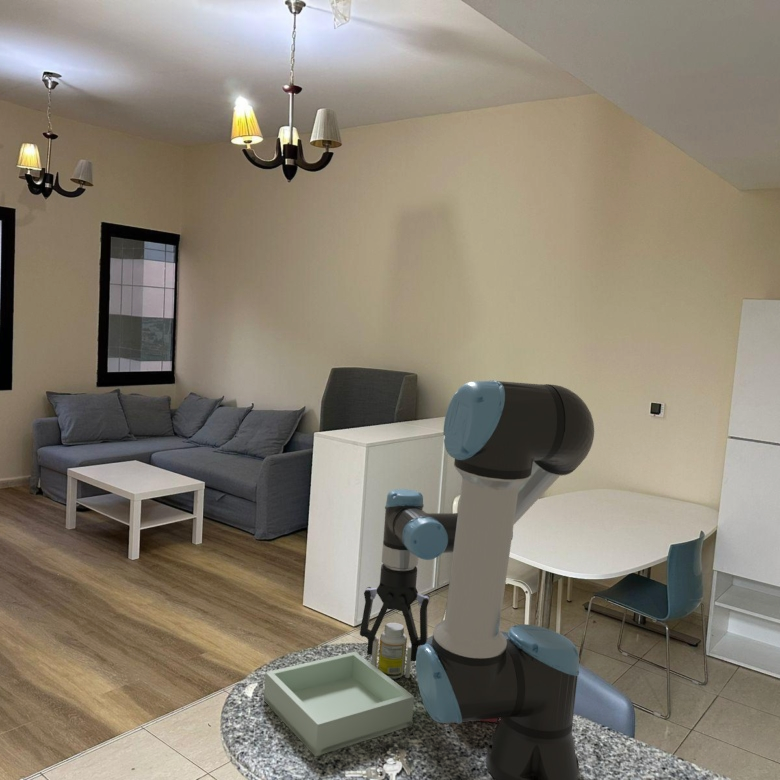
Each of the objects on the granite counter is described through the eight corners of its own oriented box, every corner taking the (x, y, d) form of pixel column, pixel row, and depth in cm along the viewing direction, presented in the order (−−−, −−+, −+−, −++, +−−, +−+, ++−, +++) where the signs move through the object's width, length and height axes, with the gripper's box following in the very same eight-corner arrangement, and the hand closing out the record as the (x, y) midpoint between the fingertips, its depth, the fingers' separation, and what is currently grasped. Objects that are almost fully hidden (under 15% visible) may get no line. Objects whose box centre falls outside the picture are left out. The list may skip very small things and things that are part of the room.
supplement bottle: (388, 664, 152) (392, 618, 151) (409, 674, 148) (413, 626, 147) (372, 673, 147) (375, 625, 147) (392, 682, 144) (396, 634, 143)
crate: (411, 725, 129) (414, 696, 128) (315, 756, 117) (317, 724, 117) (353, 677, 145) (355, 651, 144) (263, 700, 133) (265, 672, 133)
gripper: (448, 565, 148) (438, 671, 150) (357, 553, 151) (349, 657, 153) (444, 577, 141) (435, 688, 143) (349, 564, 144) (341, 673, 146)
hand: (390, 671), depth 148 cm, fingers open, 7 cm apart
